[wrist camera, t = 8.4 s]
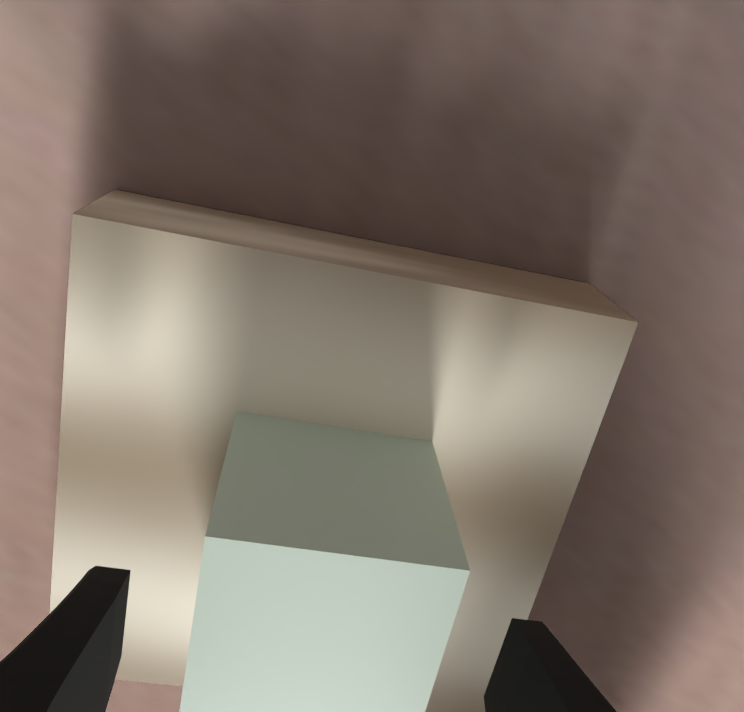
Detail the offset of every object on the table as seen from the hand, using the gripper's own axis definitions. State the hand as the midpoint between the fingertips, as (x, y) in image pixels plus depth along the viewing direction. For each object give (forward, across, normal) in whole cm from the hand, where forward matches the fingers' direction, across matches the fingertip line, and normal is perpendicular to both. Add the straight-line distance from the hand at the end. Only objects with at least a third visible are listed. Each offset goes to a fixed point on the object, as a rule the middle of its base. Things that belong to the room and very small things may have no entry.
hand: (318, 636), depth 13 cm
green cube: (+4, 0, 0) cm, 4 cm away
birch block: (+7, 0, 0) cm, 7 cm away
